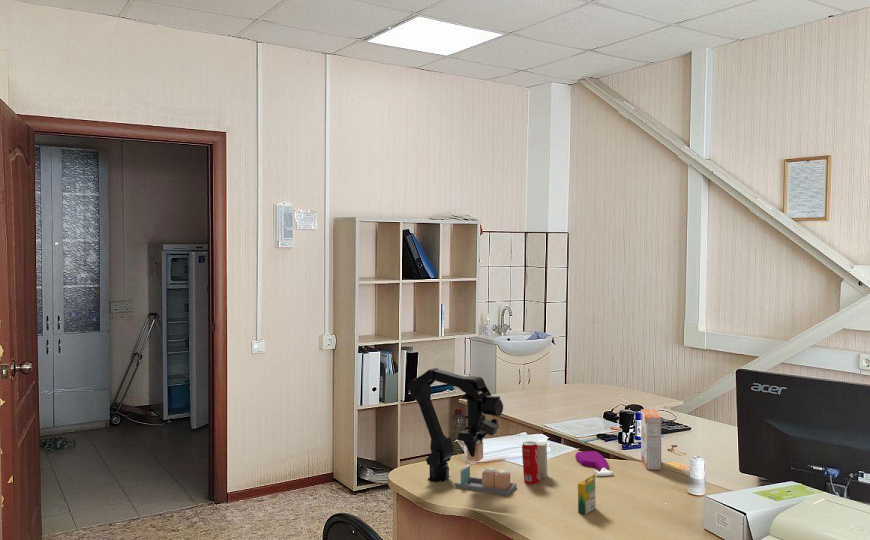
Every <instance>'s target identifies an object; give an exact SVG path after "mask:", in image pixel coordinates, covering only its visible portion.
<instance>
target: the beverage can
mask: <svg viewBox="0 0 870 540" xmlns="http://www.w3.org/2000/svg"><path fill="white" fill-rule="evenodd" d="M536 442H537V441H525V442H522V444H521V445H522V446H521V453H522V468H523V469H522V470H523V482H524V484H527V485H534V486H535V485H538V484H540V482H541V480H540V479H541V478H540V477H539V462H538V447H537V444H536Z"/></svg>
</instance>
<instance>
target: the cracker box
mask: <svg viewBox="0 0 870 540" xmlns="http://www.w3.org/2000/svg"><path fill="white" fill-rule="evenodd" d="M640 439H641V440H640V445H641V447H640V449H641V451H640V452H641V453H640V454H641V457H640V459H641V461H642V462H643V464H644V466H645V469H646V470H647V471H662V417H661V416H660V415H659V414H658V412H657V411H656V409H651V408H649V409H647V408H646V409H645V408H641V409H640Z"/></svg>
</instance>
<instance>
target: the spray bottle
mask: <svg viewBox="0 0 870 540" xmlns="http://www.w3.org/2000/svg"><path fill="white" fill-rule="evenodd" d="M574 457H575V459H576V460H577V462H578V464H580V465H581V466H583V467H587V468H594V469H593V470H592V472H594V474H595V477H606V476H607V477H610V476H614V471H612V470H609V463H608V461H607V459H606V458H605V457H604V456H603V455H602V454H601V453H599V452H598V451H596V450H595V451H594V450H593V451H591V450H589V451H586V450H585V451H577V452H576V453H575V456H574ZM595 469H597V470H595Z"/></svg>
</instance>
